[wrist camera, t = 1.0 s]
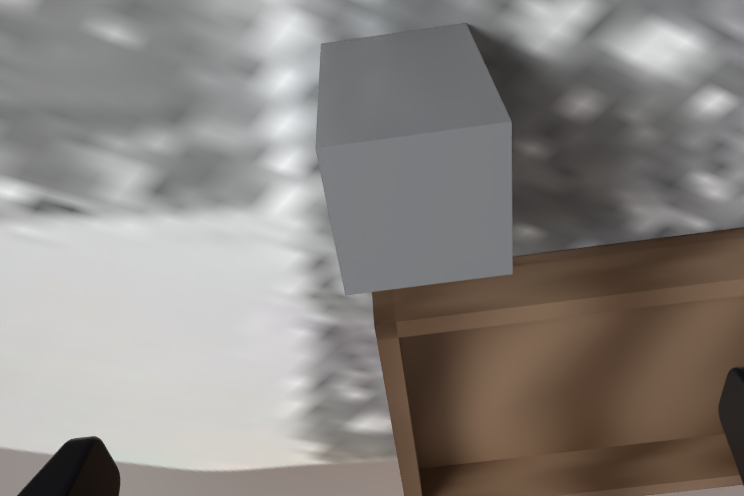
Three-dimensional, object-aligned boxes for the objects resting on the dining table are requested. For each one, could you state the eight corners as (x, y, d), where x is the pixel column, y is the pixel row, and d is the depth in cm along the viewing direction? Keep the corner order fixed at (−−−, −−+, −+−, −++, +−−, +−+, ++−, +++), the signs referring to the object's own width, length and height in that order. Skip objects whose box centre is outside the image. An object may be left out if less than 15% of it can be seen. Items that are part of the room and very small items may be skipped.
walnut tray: (884, 209, 23) (936, 254, 21) (799, 425, 30) (833, 474, 28) (371, 275, 23) (374, 324, 21) (404, 470, 30) (408, 521, 28)
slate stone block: (465, 23, 18) (511, 121, 14) (472, 151, 21) (512, 274, 16) (321, 43, 19) (315, 148, 14) (343, 168, 21) (345, 295, 16)
